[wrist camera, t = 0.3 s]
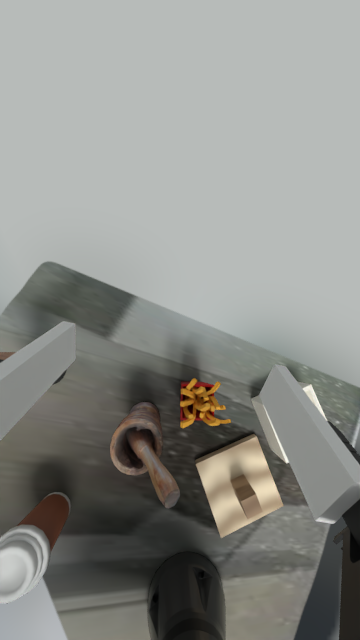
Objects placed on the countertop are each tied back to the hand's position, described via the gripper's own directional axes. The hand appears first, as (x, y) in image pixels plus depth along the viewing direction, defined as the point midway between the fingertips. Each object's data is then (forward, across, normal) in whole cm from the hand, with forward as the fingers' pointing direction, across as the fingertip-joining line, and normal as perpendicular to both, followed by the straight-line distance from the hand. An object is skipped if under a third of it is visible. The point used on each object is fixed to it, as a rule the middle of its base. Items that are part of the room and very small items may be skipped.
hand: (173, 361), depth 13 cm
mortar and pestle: (+20, 0, +32) cm, 38 cm away
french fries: (+25, -8, +25) cm, 36 cm away
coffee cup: (+9, +16, +49) cm, 52 cm away
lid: (+16, -21, +40) cm, 48 cm away
